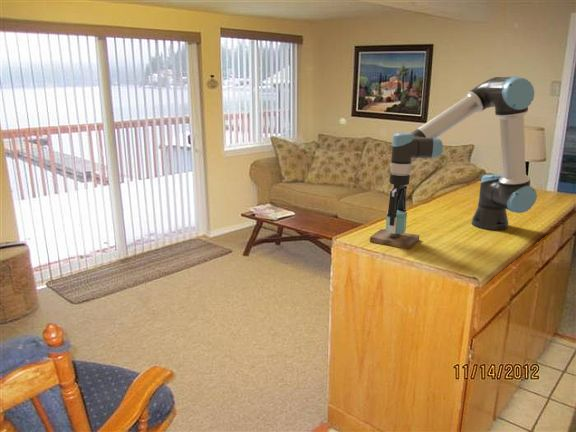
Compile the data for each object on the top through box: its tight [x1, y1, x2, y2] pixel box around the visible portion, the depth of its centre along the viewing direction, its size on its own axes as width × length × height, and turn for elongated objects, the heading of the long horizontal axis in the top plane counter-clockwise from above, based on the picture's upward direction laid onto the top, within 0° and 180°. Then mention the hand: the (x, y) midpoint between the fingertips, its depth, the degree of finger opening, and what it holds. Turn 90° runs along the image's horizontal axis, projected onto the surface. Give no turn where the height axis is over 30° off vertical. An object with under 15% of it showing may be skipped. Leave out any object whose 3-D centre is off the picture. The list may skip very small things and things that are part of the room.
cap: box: [385, 210, 408, 234], centre depth 191 cm, size 8×8×8 cm
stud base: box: [369, 228, 420, 250], centre depth 192 cm, size 16×13×8 cm
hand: (395, 230), depth 192 cm, fingers closed on cap, 8 cm apart
